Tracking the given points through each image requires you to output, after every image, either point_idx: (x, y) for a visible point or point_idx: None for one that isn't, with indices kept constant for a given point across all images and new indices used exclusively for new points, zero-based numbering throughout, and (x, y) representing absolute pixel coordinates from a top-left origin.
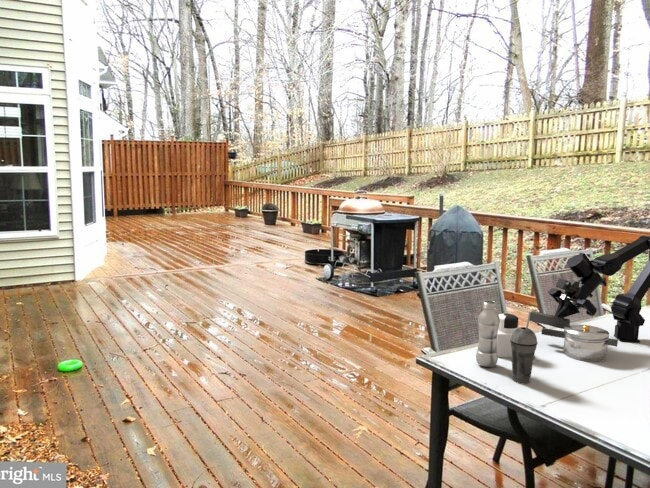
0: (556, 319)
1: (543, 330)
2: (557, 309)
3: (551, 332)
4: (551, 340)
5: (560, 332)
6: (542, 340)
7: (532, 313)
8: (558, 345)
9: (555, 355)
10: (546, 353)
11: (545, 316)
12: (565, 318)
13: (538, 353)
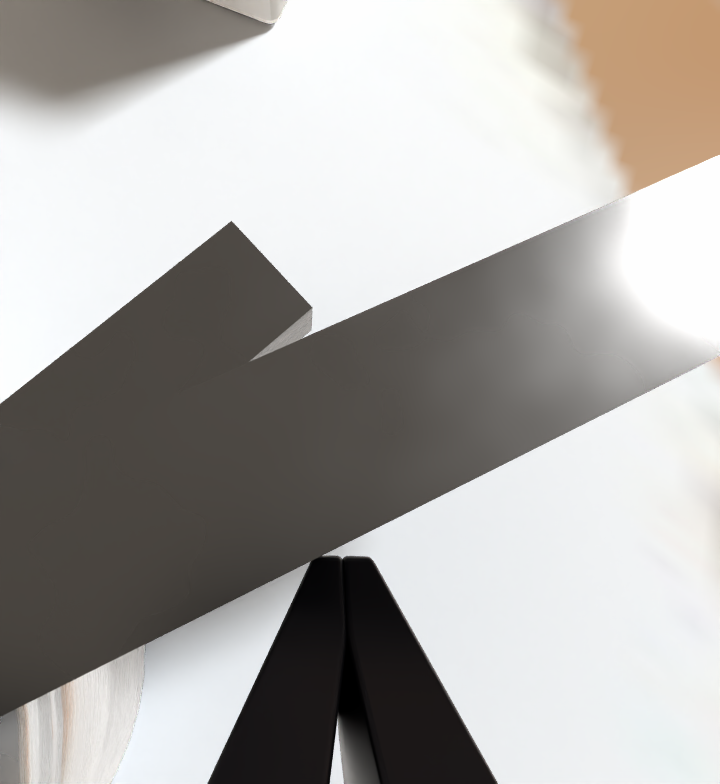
0: (107, 432)
1: (211, 241)
2: (468, 781)
3: (114, 325)
4: (460, 625)
5: (8, 432)
6: (480, 512)
7: (655, 183)
8: (281, 587)
9: (6, 321)
10: (91, 269)
11: (375, 311)
12: (24, 691)
13: (117, 189)
